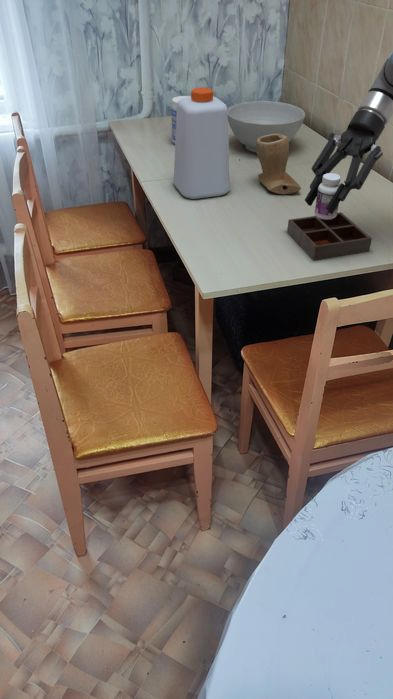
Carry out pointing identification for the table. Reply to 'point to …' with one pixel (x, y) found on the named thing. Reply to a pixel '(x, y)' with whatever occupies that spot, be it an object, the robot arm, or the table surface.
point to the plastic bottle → (201, 146)
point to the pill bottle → (326, 195)
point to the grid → (328, 236)
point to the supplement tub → (175, 115)
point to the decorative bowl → (264, 120)
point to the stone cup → (275, 164)
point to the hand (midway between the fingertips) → (318, 207)
